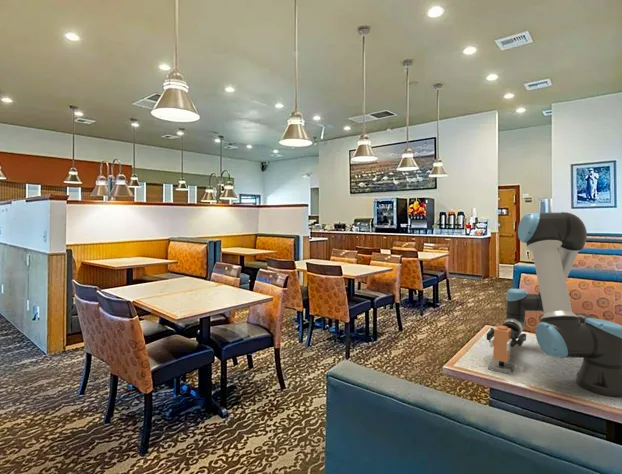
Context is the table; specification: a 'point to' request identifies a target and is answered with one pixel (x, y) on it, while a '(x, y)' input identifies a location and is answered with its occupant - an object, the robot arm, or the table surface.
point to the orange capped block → (501, 343)
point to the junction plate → (501, 366)
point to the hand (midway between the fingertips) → (499, 345)
